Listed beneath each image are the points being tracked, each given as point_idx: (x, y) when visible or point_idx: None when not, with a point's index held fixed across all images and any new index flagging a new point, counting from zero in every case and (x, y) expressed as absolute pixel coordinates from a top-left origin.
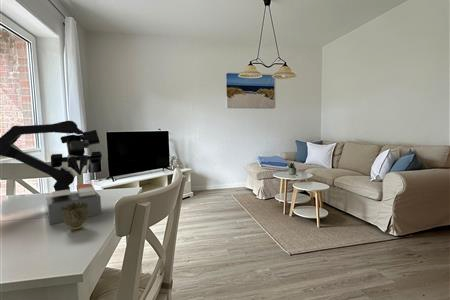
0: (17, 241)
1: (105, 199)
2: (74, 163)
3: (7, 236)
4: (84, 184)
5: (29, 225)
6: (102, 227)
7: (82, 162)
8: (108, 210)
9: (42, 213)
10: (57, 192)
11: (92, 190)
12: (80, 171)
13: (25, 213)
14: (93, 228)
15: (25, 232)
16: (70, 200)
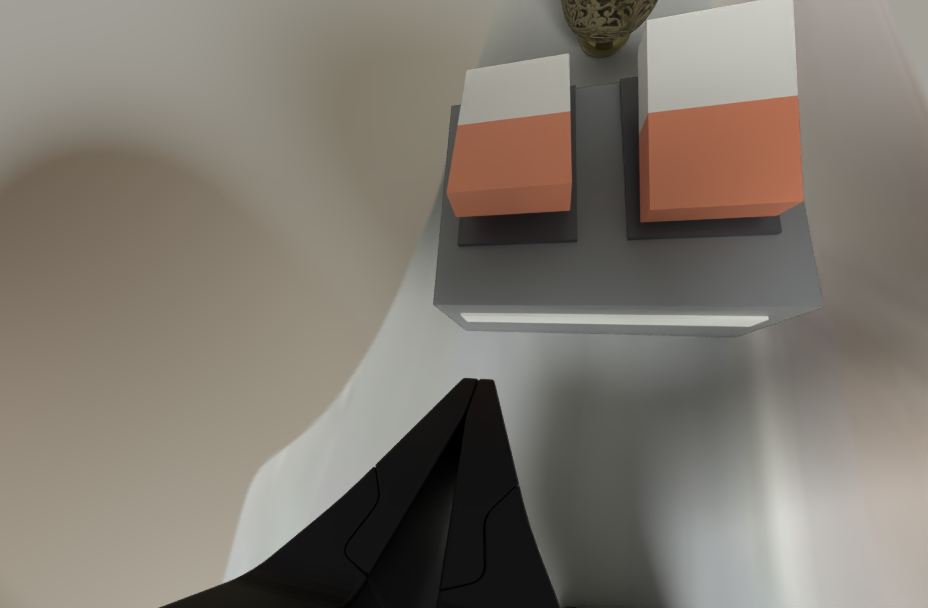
0: (837, 21)
1: (371, 454)
2: (521, 594)
3: (910, 96)
4: (504, 179)
5: (825, 202)
6: (516, 24)
7: (308, 555)
8: (435, 211)
9: (778, 413)
10: (745, 8)
11: (484, 68)
12: (465, 395)
13: (925, 524)
14: (546, 28)
15: (824, 108)
16: (629, 82)
